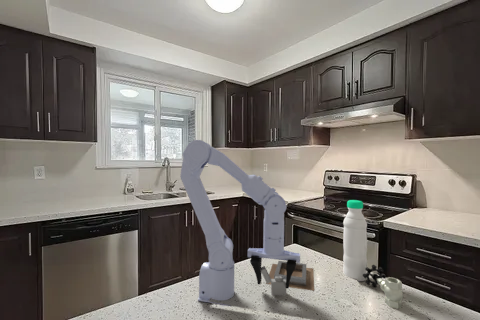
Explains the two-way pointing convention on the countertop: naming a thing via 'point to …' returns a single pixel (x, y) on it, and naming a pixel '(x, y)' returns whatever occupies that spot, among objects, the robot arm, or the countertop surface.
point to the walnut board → (298, 274)
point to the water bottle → (355, 241)
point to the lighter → (275, 283)
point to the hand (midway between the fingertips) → (273, 284)
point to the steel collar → (293, 280)
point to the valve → (386, 286)
